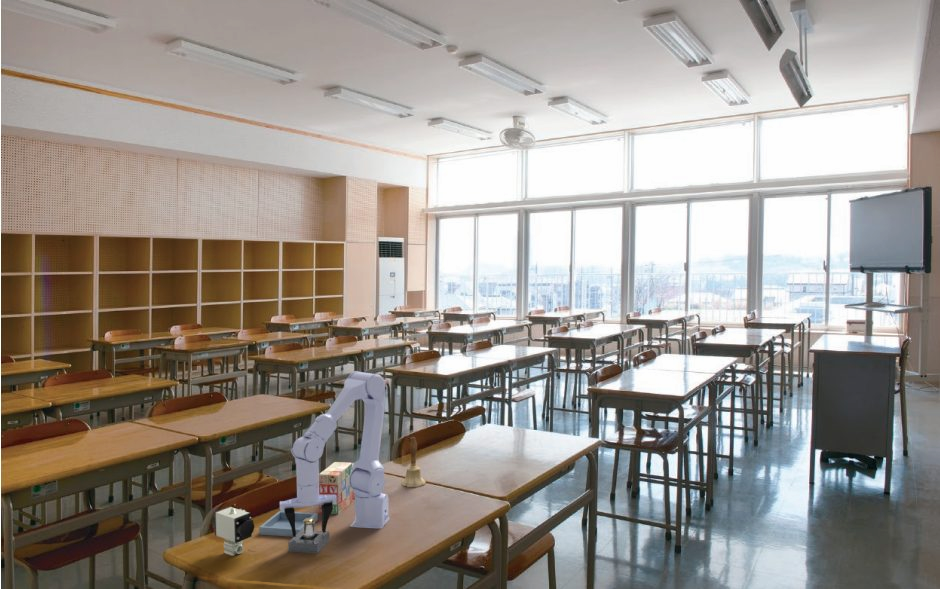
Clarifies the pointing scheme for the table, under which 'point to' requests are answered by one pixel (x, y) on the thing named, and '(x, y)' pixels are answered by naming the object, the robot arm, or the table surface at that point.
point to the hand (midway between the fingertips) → (309, 533)
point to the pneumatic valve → (233, 528)
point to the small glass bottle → (308, 529)
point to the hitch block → (308, 542)
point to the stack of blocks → (337, 485)
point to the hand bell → (413, 469)
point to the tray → (284, 524)
